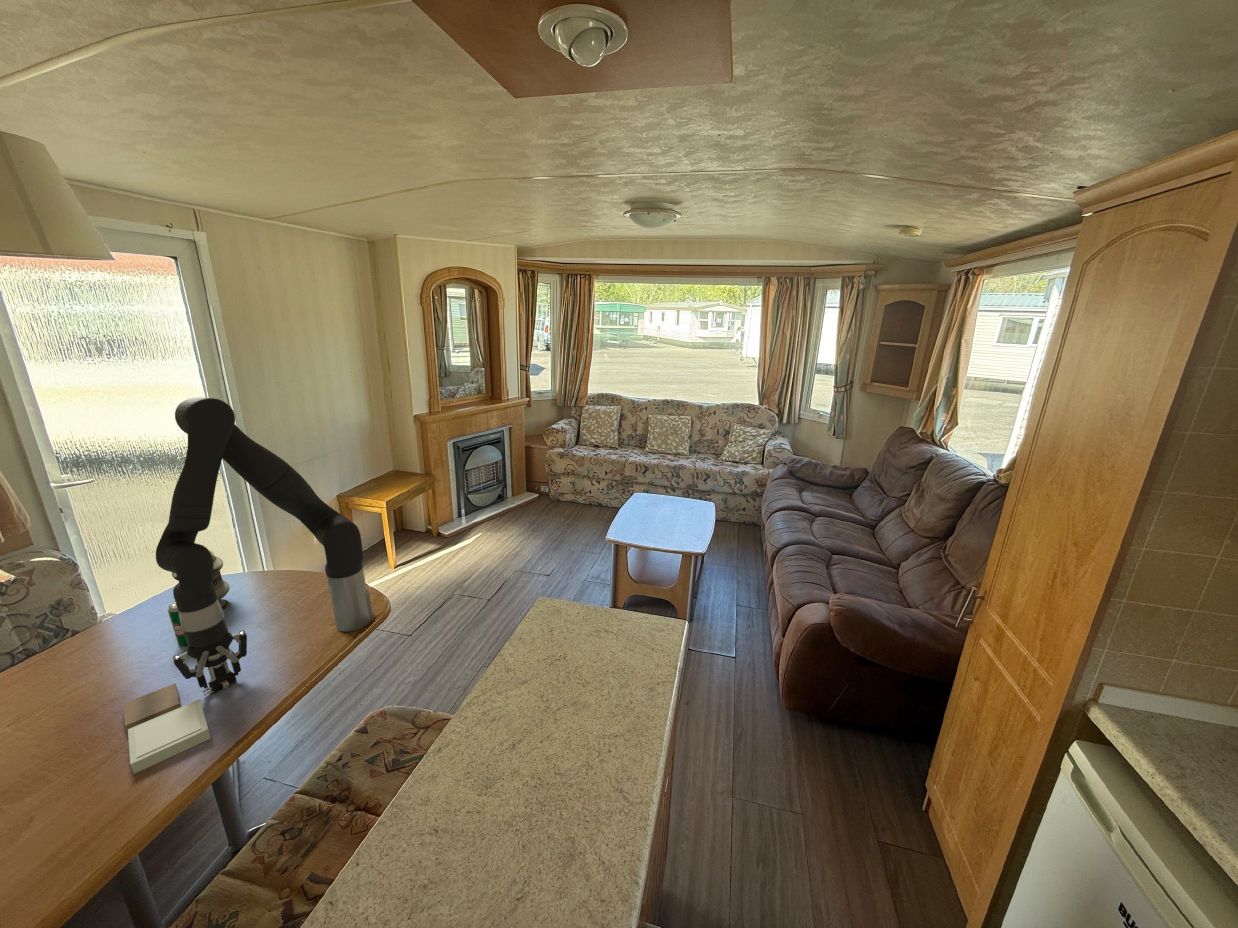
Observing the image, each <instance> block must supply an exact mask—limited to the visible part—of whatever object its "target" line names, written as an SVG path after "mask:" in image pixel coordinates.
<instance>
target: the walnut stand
mask: <svg viewBox="0 0 1238 928" xmlns="http://www.w3.org/2000/svg"><path fill="white" fill-rule="evenodd" d="M180 707H182V704H181V699H180V695H179V691H178V688H177V684H176V683H172V684H170V685H167V686H163V687H162V688H160V689H157V690H155V691H152V692H149V693H146V694H144V695H142V696H139V697H137V698H135V699H134V698H133V699H131V700H129V701H126V702H123V715H124V717H123V718H124V719H123V721H124V727H125V730H126V733H127V734H128V729H130V728H132V727H135V726H137V725H139V724H142V723H144V722H147V721H149V720H151V719H154V718H156V717H159V716H161V715H163V714H166V713H168V712H171V711H173V710H175V709H178V708H180Z"/></svg>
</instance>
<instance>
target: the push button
mask: <svg viewBox="0 0 1238 928" xmlns="http://www.w3.org/2000/svg"><path fill="white" fill-rule="evenodd" d="M227 650H228V649H227ZM228 651H229V650H228ZM205 668H207V670H208V673H209V676H210V679H209V681H208V683H207V685H208V688H205V689H204V690H202V693H203V696H207V695H209V694H211V693H214V694H217V693H218V692H220V691H222V690H223V689H227V688H229V686H231V685H232V684H236V683H237V677H236V676H235V674H234V671H232V670H231V669H229V665H228V659H227V658H226V655H225V656H224V655H222V654H221V653H220V652H219V653H217V654H214V655H211V656H209V657H208V661H206V665H205Z"/></svg>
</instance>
